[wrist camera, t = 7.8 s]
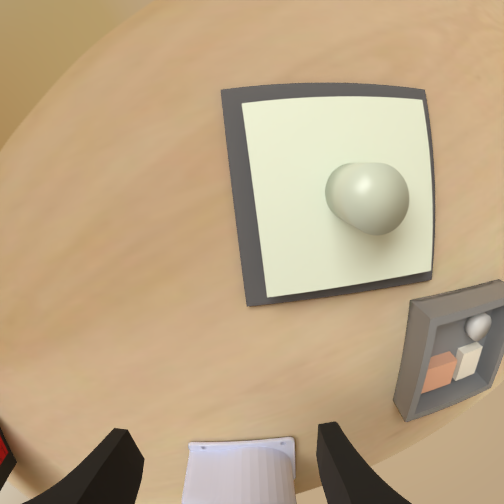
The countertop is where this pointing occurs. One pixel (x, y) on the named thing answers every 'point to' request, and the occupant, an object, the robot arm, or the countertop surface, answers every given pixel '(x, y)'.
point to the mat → (244, 185)
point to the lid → (340, 190)
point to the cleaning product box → (5, 460)
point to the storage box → (450, 348)
